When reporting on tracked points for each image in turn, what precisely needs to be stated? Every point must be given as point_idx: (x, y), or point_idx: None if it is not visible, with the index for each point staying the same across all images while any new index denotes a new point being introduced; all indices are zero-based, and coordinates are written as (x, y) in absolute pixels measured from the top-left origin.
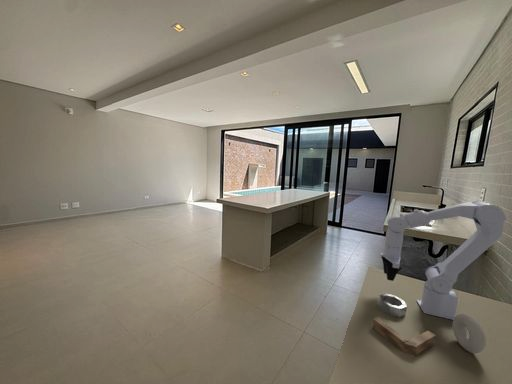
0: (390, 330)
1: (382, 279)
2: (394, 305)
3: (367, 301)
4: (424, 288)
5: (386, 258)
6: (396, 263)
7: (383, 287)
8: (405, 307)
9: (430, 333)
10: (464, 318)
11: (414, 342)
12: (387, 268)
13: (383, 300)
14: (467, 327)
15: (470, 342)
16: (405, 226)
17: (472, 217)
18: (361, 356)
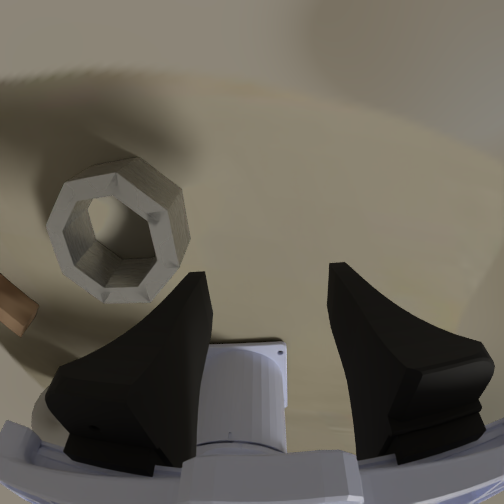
0: None
1: (455, 219)
2: (66, 247)
3: (125, 97)
4: (230, 428)
5: (117, 482)
6: (4, 483)
7: (363, 208)
8: (94, 294)
9: (15, 327)
10: (51, 440)
11: None
12: (95, 356)
13: (72, 194)
14: (41, 424)
15: (39, 398)
16: None
17: None
18: None
